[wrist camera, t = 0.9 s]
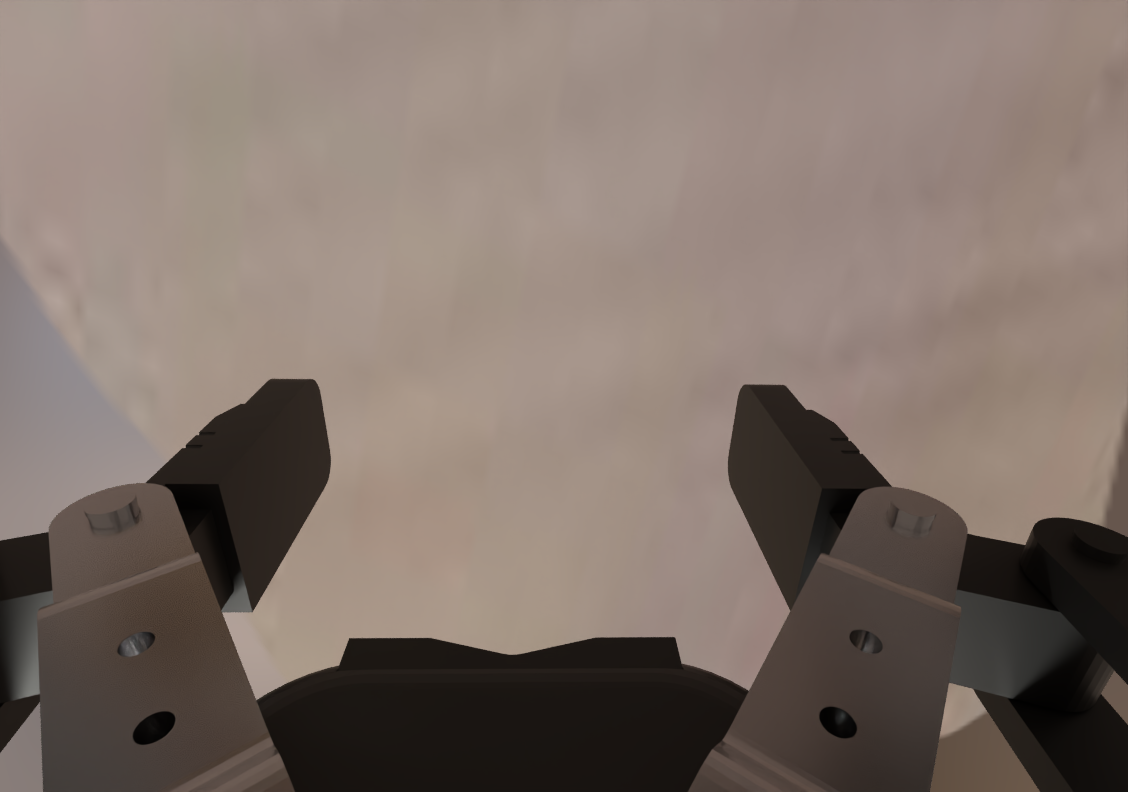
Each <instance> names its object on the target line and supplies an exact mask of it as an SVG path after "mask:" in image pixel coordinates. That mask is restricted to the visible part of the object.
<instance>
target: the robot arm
mask: <svg viewBox="0 0 1128 792" xmlns="http://www.w3.org/2000/svg"><path fill="white" fill-rule="evenodd" d="M859 452H860V451H859V449H858V448H857V447H856V446H855V445H854V444H853V443H852V442H851V441H848V437H847V436H846V435H845V434H844V433H843V432H842V431H841V429H840V428H839V427H838V426H837V425H836V424H835V423H834V422H832V421H830V420H829V419H827V418H825V417H823V416H822V415H820V414H818V413H817V412H815V411H813V410H806V409H805V408H804V407H803V406H802V405H801V403H800V402H799V401H798V400H797V399H796V397H795V396H794V395H793V394H792V393H791V392H790V390H789V389H788V388H787V387H786V386H785V385H743V386H742V388H741V390H740V392H739V395H738V400H737V407H736V413H735V419H734V425H733V431H732V438H731V444H730V450H729V457H728V475H729V481H730V485H731V488H732V490H733V492H734V494H735V496H736V499H737V501H738V503H739V505H740V507H741V509H742V511H743V513H744V515H745V517H746V519H747V521H748V524H749V526H750V528H751V530H752V532H753V534H754V536H755V538H756V540H757V542H758V544H759V546H760V549H761V551H762V553H763V555H764V557H765V559H766V561H767V563H768V565H769V567H770V569H771V571H772V574H773V576H774V578H775V580H776V582H777V584H778V586H779V588H780V590H781V592H782V594H783V596H784V598H785V601H786V603H787V605H788V607H789V609H790V613H789V615H788V617H787V619H786V621H785V623H784V625H783V627H782V628H781V630H780V632H779V634H778V636H777V638H776V640H775V642H774V644H773V646H772V648H771V650H770V652H769V653H768V655H767V657H766V659H765V661H764V663H763V665H762V667H761V669H760V671H759V673H758V675H757V677H756V678H755V680H754V682H753V684H752V686H751V688H750V690H749V691H748V690H746V689H745V688H743V687H741V686H739V685H737V684H736V683H734V682H732V681H730V680H728V679H726V678H723V677H721V676H719V675H716V674H714V673H712V672H709V671H706V670H703V669H700V668H697V667H694V666H690V665H685V664H681V660H680V656H679V651H678V647H677V643H676V639H675V637H621V638H592V639H587V640H583V641H578V642H574V643H569V644H565V645H560V646H556V647H551V648H546V649H542V650H537V651H533V652H528V653H524V654H518V655H507V654H501V653H497V652H492V651H487V650H483V649H478V648H474V647H469V646H464V645H460V644H455V643H450V642H446V641H441V640H437V639H432V638H349V641H348V643H347V646H346V649H345V651H344V654H343V657H342V660H341V662H340V665H339V666H335V667H331V668H327V669H324V670H321V671H317V672H314V673H311V674H308V675H306V676H303V677H301V678H298V679H296V680H294V681H291V682H289V683H287V684H285V685H283V686H281V687H279V688H277V689H275V690H273V691H271V692H269V693H267V694H266V695H264V696H263V697H261V698H259V699H258V700H256V699H255V696H254V694H253V691H252V689H251V686H250V683H249V681H248V678H247V676H246V673H245V670H244V668H243V666H242V663H241V661H240V658H239V655H238V653H237V650H236V647H235V645H234V642H233V640H232V637H231V635H230V632H229V629H228V627H227V624H226V622H225V619H224V617H223V614H222V612H253V610H254V609H255V607H256V605H257V604H258V602H259V600H260V598H261V597H262V595H263V593H264V591H265V590H266V588H267V586H268V585H269V583H270V581H271V579H272V578H273V576H274V574H275V572H276V571H277V569H278V567H279V566H280V564H281V562H282V560H283V559H284V557H285V555H286V553H287V552H288V550H289V548H290V547H291V545H292V543H293V541H294V540H295V538H296V536H297V534H298V533H299V531H300V529H301V528H302V526H303V524H304V522H305V521H306V519H307V517H308V516H309V514H310V512H311V510H312V509H313V507H314V505H315V503H316V502H317V500H318V498H319V497H320V495H321V493H322V491H323V490H324V488H325V486H326V484H327V481H328V478H329V474H330V466H331V456H330V448H329V442H328V436H327V430H326V424H325V418H324V412H323V406H322V400H321V394H320V390H319V387H318V384H317V383H316V381H315V380H313V379H270V380H269V381H267V382H266V383H265V384H264V385H263V386H262V387H261V388H260V389H259V390H258V391H257V392H256V393H255V394H254V395H253V396H252V397H251V398H250V399H249V400H248V401H247V402H246V403H245V404H240V405H238V406H236V407H234V408H232V409H230V410H228V411H226V412H224V413H222V414H220V415H218V416H216V417H215V418H214V419H213V420H212V421H211V422H210V423H209V424H207V425H206V426H205V427H204V428H203V429H202V430H201V431H200V432H199V435H196V436H195V437H194V438H193V439H192V440H191V441H189V442H188V443H187V444H186V448H182V449H181V450H180V451H179V452H178V453H177V454H176V455H175V456H174V457H173V458H171V459H170V460H169V461H168V462H167V463H166V464H165V465H164V466H163V467H162V468H161V469H160V470H159V471H158V472H157V473H156V474H155V475H154V476H152V477H151V478H150V479H149V480H148V481H147V482H146V483H136V484H127V485H121V486H116V487H112V488H108V489H105V490H102V491H99V492H96V493H94V494H91V495H88V496H86V497H84V498H82V499H80V500H78V501H76V502H75V503H73V504H71V505H69V506H68V507H67V508H65V509H64V510H62V511H61V512H60V513H59V514H58V515H57V516H56V517H55V518H54V519H53V521H52V522H51V524H50V526H49V532H47V533H41V534H36V535H30V536H24V537H19V538H13V539H7V540H2V541H0V752H1V751H2V750H3V748H4V747H5V746H6V745H7V743H8V742H9V741H10V740H11V738H12V737H13V736H14V734H15V733H16V732H17V731H18V729H19V728H20V726H21V725H22V724H23V723H24V722H25V720H26V719H27V718H28V716H29V715H30V714H31V713H32V711H33V710H34V708H35V707H36V706H37V705H38V703H39V702H40V717H41V743H42V744H41V745H42V771H43V772H42V773H43V792H930V788H931V782H932V776H933V770H934V765H935V759H936V754H937V748H938V742H939V736H940V731H941V725H942V719H943V714H944V708H945V702H946V696H947V691H948V685H949V683H953V684H957V685H960V686H964V687H968V688H972V689H974V691H975V693H976V695H977V696H978V698H979V699H980V701H981V702H982V704H983V705H984V707H985V708H986V710H987V712H988V713H989V715H990V716H991V718H992V719H993V721H994V722H995V724H996V725H997V726H998V728H999V730H1000V731H1001V733H1002V734H1003V736H1004V737H1005V739H1006V740H1007V742H1008V743H1009V745H1010V746H1011V748H1012V750H1013V751H1014V753H1015V754H1016V755H1017V757H1018V759H1019V760H1020V762H1021V763H1022V765H1023V766H1024V768H1025V769H1026V771H1027V772H1028V774H1029V775H1030V777H1031V778H1032V780H1033V781H1034V783H1035V784H1036V786H1037V788H1038V789H1039V790H1040V792H1128V725H1127V724H1126V722H1125V721H1124V720H1123V719H1122V718H1121V717H1120V715H1119V714H1118V713H1117V712H1116V711H1115V710H1114V709H1113V707H1112V706H1111V705H1110V704H1109V703H1108V702H1107V700H1106V699H1105V698H1104V697H1103V696H1102V695H1101V692H1102V691H1103V689H1104V687H1105V686H1106V684H1107V682H1108V680H1109V679H1110V677H1111V675H1112V674H1113V672H1114V670H1115V671H1116V673H1117V674H1118V675H1119V676H1120V677H1121V678H1122V679H1123V680H1124V681H1125V682H1126V683H1127V684H1128V537H1125V536H1124V535H1122V534H1120V533H1117V532H1115V531H1113V530H1110V529H1108V528H1105V527H1102V526H1099V525H1096V524H1093V523H1089V522H1085V521H1081V520H1076V519H1070V518H1047V519H1043V520H1040V521H1038V522H1037V523H1036V524H1035V525H1034V527H1033V529H1032V531H1031V533H1030V536H1029V538H1028V540H1027V543H1026V545H1021V544H1016V543H1011V542H1006V541H1001V540H995V539H990V538H985V537H980V536H975V535H971V534H967V526H966V524H965V522H964V520H963V519H962V518H961V517H960V516H959V515H958V513H956V512H955V511H954V510H953V509H951V508H950V507H949V506H947V505H945V504H944V503H942V502H940V501H938V500H937V499H934V498H932V497H930V496H928V495H925V494H922V493H919V492H916V491H912V490H909V489H904V488H897V487H892V486H891V485H890V484H889V483H888V482H887V480H886V479H885V478H884V477H883V476H882V475H881V474H880V473H879V472H878V471H877V469H876V468H875V467H874V466H873V465H872V464H871V463H870V462H869V461H868V459H867V458H866V457H865V456H864V455H863V454H860V453H859Z"/></svg>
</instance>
